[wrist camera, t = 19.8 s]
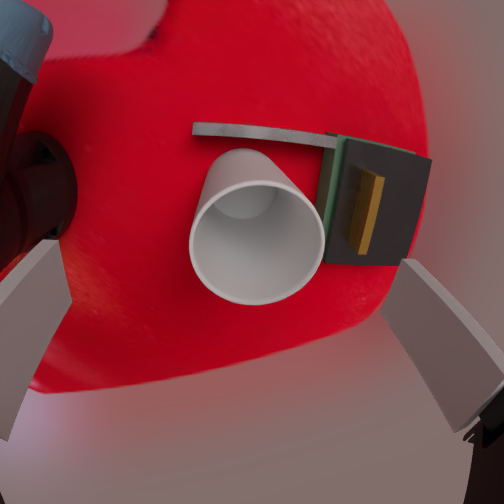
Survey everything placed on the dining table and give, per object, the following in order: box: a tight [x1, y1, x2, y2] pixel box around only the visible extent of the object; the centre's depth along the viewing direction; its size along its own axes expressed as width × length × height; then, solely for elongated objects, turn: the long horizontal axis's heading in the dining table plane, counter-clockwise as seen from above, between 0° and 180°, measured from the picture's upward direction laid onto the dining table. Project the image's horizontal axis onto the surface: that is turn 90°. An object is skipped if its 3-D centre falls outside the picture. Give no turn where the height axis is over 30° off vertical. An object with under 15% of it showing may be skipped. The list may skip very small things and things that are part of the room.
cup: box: [189, 148, 325, 305], centre depth 24 cm, size 8×8×16 cm
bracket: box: [189, 122, 338, 252], centre depth 30 cm, size 14×13×4 cm
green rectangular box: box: [315, 132, 415, 260], centre depth 31 cm, size 10×14×4 cm
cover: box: [323, 138, 432, 266], centre depth 28 cm, size 11×14×4 cm
